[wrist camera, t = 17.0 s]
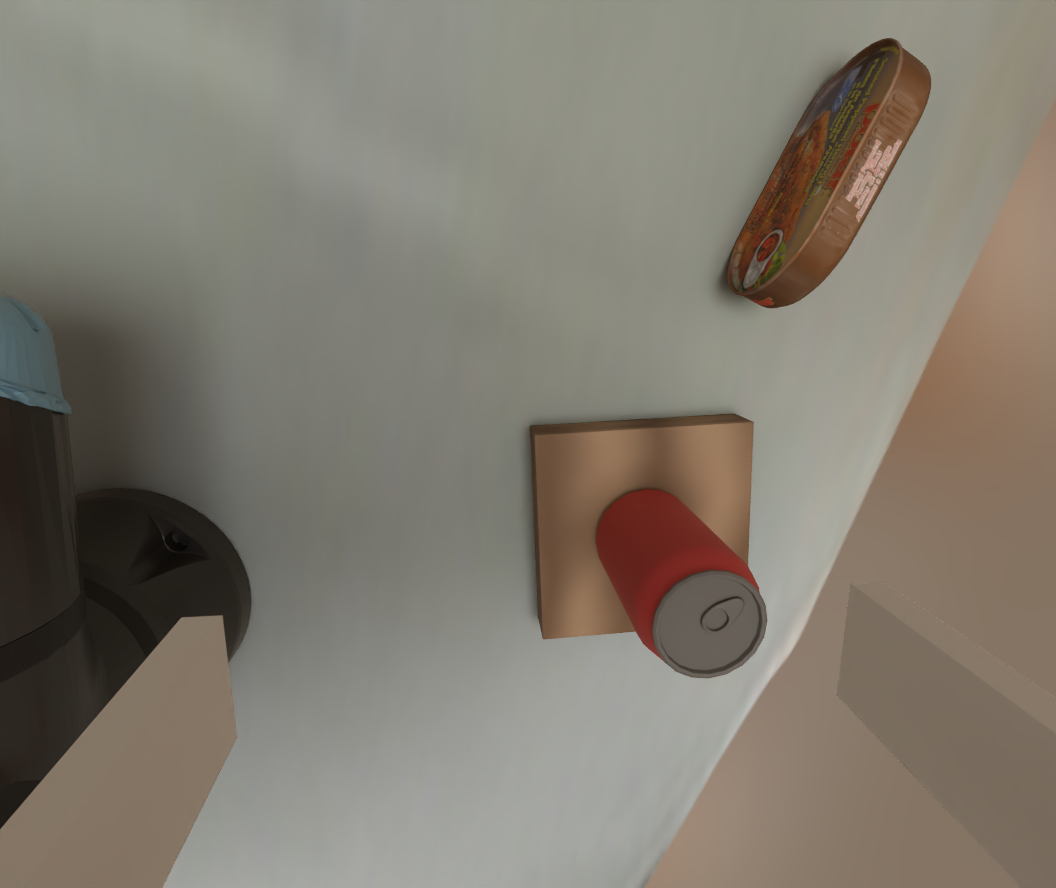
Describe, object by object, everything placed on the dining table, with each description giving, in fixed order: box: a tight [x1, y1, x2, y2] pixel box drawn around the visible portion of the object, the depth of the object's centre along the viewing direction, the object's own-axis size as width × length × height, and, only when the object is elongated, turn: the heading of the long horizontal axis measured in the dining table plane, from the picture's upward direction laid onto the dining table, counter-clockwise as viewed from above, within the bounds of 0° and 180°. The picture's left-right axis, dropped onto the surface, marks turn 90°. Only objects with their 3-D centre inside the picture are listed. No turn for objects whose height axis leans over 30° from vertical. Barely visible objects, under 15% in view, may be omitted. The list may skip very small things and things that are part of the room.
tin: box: [727, 38, 931, 308], centre depth 37 cm, size 15×3×8 cm, turn 154°
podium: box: [530, 414, 754, 639], centre depth 43 cm, size 14×14×3 cm
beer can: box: [596, 489, 767, 678], centre depth 36 cm, size 7×7×12 cm
